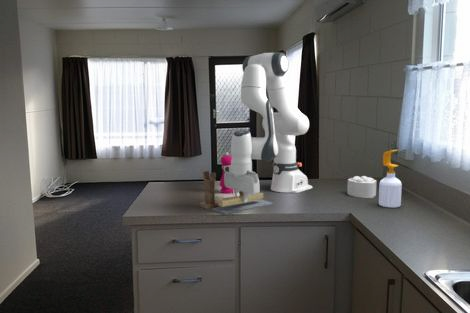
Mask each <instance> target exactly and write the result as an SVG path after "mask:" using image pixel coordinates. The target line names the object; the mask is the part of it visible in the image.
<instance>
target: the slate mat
mask: <svg viewBox="0 0 470 313" xmlns="http://www.w3.org/2000/svg"><path fill="white" fill-rule="evenodd" d="M273 205H274V202H272V201H267V200H265V199H260V200H255V201H250V202H245V203H239V204H234V205H229V206H224V207H222V206H221V207H215V208H212V211H214V212H217V213H219V214H223V215H225V216H226V215H231V214H235V213H241V212H245V211H250V210H251V211H252V210H255V209H259V208H260V209H261V208H265V207H268V206H273Z"/></svg>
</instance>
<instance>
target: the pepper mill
mask: <svg viewBox="0 0 470 313" xmlns="http://www.w3.org/2000/svg"><path fill="white" fill-rule="evenodd" d="M231 160H232V155H229V152H227V151H226V152H224V155H223V156H222V157H221V159H220V163H221V169H222V176H221V178H220V181H219V186H220V187H221V188H220V194H221V193H222V194H225V195H226V194H232V193H234V189H231V188H227V187H226V186H225V184H224V174H225V171H224V167H225V166H229V165H231Z"/></svg>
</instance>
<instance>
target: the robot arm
mask: <svg viewBox="0 0 470 313" xmlns="http://www.w3.org/2000/svg"><path fill="white" fill-rule="evenodd" d="M289 63H290V62H289V59H288V57H287V55H286V54H284V52H280V51H279V52H278V51H277V52H263V53H259V54H256V55H249V56H247V57H245V58H244V60H243V61H242V72H243V74H242V79H241V84H240V100H241V103H242V104H243V105H244V106H245V107H246V108H248V109H249V110H251V111H254V112H257V113H259V114H260V115H261V116H262V122H261V123H262V128H263V130H264V137H254V136H252V135H251V132H250V131H249V130H244V129H243V130H241V129H240V130H236V131H233V133H232V136H231V141H230V145H231V146H230V154H231V157H232V160H231V165H229V166H225V167H224V171H225V174H224V184H225V186H226V187H227V188H231V189H233V193H234V196H240V194H239V192H240V191H241V192H244V198H242V202H247V201H248V196H249V194H252V195H255V194H258V193H259V192H260V193H261V191H260V190H261V189H260V188H261V187H260V179H259V175H258V174H257V173H256V172H255V171H253V161H252V160H259V161H267V162H272V161H273V162H272V170H273V172H272V180H271V185H270V190H271V191H273V192H277V193H293V194H294V193H295V194H296V193H302V192H305V191H308V190H311V189H313V186H312V185H310V184H309V180H308V177H307V175H305V173H303V172H302V171H301V170H300V169H299V167H302V166H303V164H302V162H297V149H296V145H295V144H294V143H292V142H291V140H290V139H289V136H294V137H295V136H300V135H301V136H302V135H305V134H306V133H307V132H308V131H309V128H310V120H309V118H308V116H307V115H305V114H304V113H302V112H301V111H300V109H299V108H298V106H297V105H296V103H295V101H294V98H293V94H292V88H291V83H290V79H289V76H288V69H289ZM267 97H268V98H267ZM274 108H275V109H276V110H277V111H278V112H274Z"/></svg>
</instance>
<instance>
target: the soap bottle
mask: <svg viewBox="0 0 470 313" xmlns="http://www.w3.org/2000/svg"><path fill="white" fill-rule="evenodd" d="M397 151H398V149H390V150H387V151H385V152H383V156H382V164H383V166H385V167H387V168H388V170H387V171H386V176H385V177H384V178H382V179H381V180H380V181H379V185H378V186H379V189H378V205H379V206H380V207H384V208H388V209H389V208H390V209H391V208H395V209H396V208H399V207H401V205H402V204H401V203H402V190H403V189H402V186H403V184H402V181H401V180H400V179H399V178H397V177H396V171H394V169H395V168H397V167H399V165H398V164H393V163H391V156H392V153H393V152H397Z"/></svg>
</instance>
